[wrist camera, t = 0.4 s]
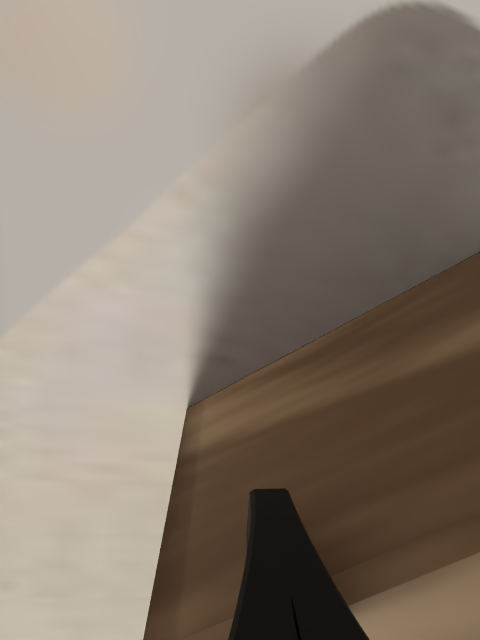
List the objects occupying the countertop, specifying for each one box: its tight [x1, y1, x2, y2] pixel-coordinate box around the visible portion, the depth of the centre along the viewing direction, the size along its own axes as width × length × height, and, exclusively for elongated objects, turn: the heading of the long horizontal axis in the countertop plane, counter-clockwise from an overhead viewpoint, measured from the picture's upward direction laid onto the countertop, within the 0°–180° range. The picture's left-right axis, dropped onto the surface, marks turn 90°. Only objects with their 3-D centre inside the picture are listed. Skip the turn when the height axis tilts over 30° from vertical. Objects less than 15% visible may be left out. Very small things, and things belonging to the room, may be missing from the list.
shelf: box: [143, 252, 480, 640], centre depth 17 cm, size 13×18×13 cm
